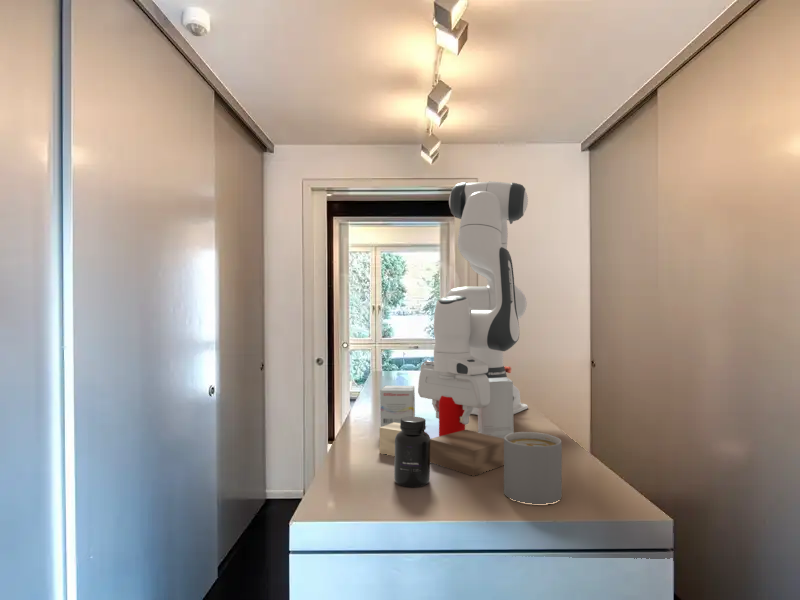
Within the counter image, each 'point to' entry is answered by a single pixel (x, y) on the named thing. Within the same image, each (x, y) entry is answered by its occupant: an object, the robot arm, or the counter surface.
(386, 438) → the oak block
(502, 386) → the skincare box
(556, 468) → the coffee mug
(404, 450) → the supplement bottle
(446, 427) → the beverage can
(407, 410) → the ink box
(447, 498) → the counter surface
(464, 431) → the walnut block
